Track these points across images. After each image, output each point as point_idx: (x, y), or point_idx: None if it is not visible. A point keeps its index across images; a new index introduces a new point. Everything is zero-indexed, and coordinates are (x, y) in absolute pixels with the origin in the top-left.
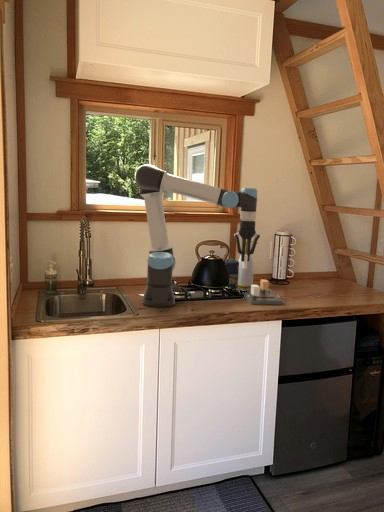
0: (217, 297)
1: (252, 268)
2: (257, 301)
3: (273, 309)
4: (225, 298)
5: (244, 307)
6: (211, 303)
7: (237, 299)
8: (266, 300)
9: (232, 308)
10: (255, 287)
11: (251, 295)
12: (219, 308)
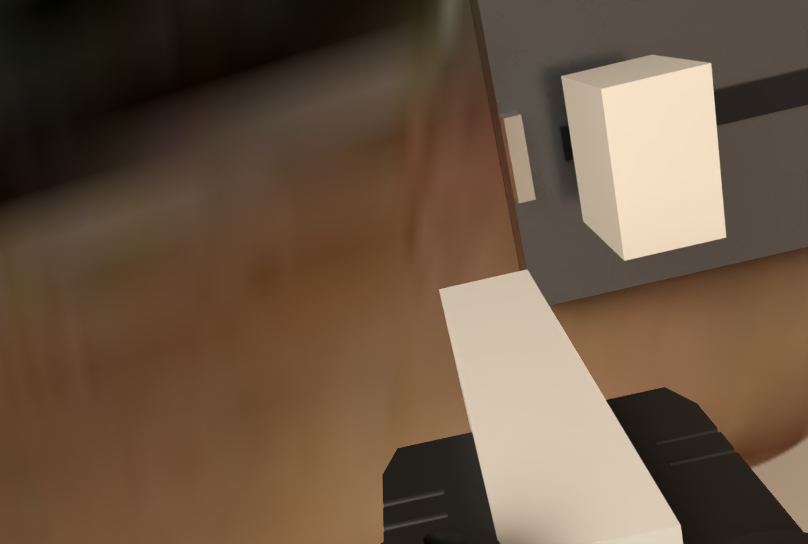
0: (81, 62)
1: None
2: (611, 285)
3: (743, 426)
4: (198, 88)
5: (436, 437)
6: (58, 382)
7: (365, 96)
8: (733, 263)
9: (307, 505)
10: (645, 251)
11: (572, 34)
12: (174, 539)
